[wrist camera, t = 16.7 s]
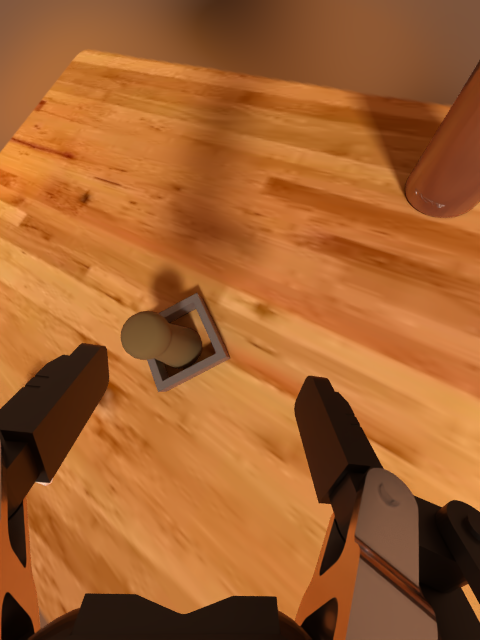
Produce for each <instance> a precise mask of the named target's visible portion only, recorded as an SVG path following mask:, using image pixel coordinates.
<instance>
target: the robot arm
mask: <svg viewBox="0 0 480 640" xmlns="http://www.w3.org/2000/svg"><path fill="white" fill-rule="evenodd" d="M405 192H406V196H407V199H408V201H409V202H410V203H411V205H412V206H413V207H414V208H416V209H417V210H418V211H420V212H422V213H424V214H427V215H430V216H433V217H440V218H447V217H455V216H459V215H461V214H464V213H466V212H468V211H469V210H471V209H472V208H473V207H474V206H475V205H476V204H478V203H479V202H480V60H479V62H478V64H477V65H476V67H475V69H474V70H473V72H472V73H471V75H470V77H469V78H468V80H467V82H466V83H465V85H464V87H463V88H462V90H461V92H460V94H459V95H458V97H457V98H456V100H455V102H454V103H453V105H452V107H451V108H450V110H449V112H448V113H447V115H446V117H445V118H444V120H443V122H442V123H441V125H440V127H439V128H438V130H437V132H436V133H435V135H434V137H433V138H432V140H431V141H430V143H429V145H428V146H427V148H426V150H425V151H424V153H423V155H422V156H421V158H420V160H419V161H418V163H417V165H416V166H415V168H414V169H413V171H412V173H411V174H410V176H409V178H408V180H407V182H406V186H405ZM108 382H109V368H108V356H107V349H106V347H105V346H100V345H93V344H86V343H82V344H80V345H79V346H78V347H77V348H76V349H75V350H74V351H73V353H72V354H71V355H70V356H68V355H62V356H60V357H58V358H56V359H54V360H53V361H51V362H49V363H47V364H46V365H45V366H44V367H43V368H42V369H41V370H40V371H39V372H38V373H37V374H36V375H35V377H33V378H32V379H31V380H30V381H29V382H28V383H27V384H26V385H25V387H22V388H21V389H20V390H19V391H18V392H17V393H16V394H15V395H14V396H13V397H12V398H11V399H10V400H9V401H8V402H7V403H6V404H5V405H4V406H3V407H2V408H1V409H0V640H480V622H479V620H478V619H477V617H476V615H475V613H474V611H473V609H472V607H471V605H470V604H469V602H468V600H467V598H466V596H465V594H464V592H463V590H462V589H461V587H463V586H465V585H467V584H469V586H470V587H471V589H472V591H473V593H474V595H475V596H476V598H477V600H478V602H479V604H480V512H479V511H477V510H476V509H475V508H473V507H472V506H470V505H468V504H466V503H464V502H461V501H457V500H453V501H450V502H449V503H447V504H446V505H445V506H443V507H440V506H437V505H435V504H432V503H430V502H428V501H425V500H423V499H421V498H418V497H416V496H414V495H413V494H412V493H411V491H410V490H409V488H408V487H407V486H406V485H405V484H404V483H403V481H402V480H400V479H399V478H398V477H397V476H396V475H394V474H393V473H391V472H389V471H387V470H385V469H383V467H382V465H381V463H380V462H379V460H378V458H377V456H376V454H375V452H374V450H373V448H372V446H371V445H370V443H369V441H368V439H367V437H366V435H365V433H364V431H363V429H362V428H361V427H360V424H359V422H358V420H357V418H356V417H355V416H354V415H355V414H354V413H353V411H352V409H351V407H350V405H349V403H348V402H347V401H346V400H345V399H344V398H343V397H342V396H341V394H340V393H339V392H335V391H334V389H333V387H332V385H331V383H330V381H329V380H328V379H327V378H323V377H316V376H308V377H307V378H306V379H305V382H304V384H303V386H302V388H301V390H300V392H299V395H298V397H297V399H296V402H295V408H294V411H295V417H296V421H297V425H298V428H299V432H300V436H301V439H302V443H303V447H304V450H305V454H306V458H307V461H308V465H309V469H310V472H311V476H312V480H313V483H314V487H315V491H316V495H317V498H318V502H319V503H325V504H331V505H332V508H333V512H334V513H333V514H332V516H331V518H330V521H329V525H328V528H327V531H326V535H325V538H324V541H323V545H322V548H321V551H320V555H319V558H318V562H317V565H316V568H315V572H314V575H313V577H312V580H311V582H310V584H309V586H308V588H307V590H306V592H305V594H304V596H303V598H302V601H301V603H300V606H299V609H298V612H297V615H296V618H295V621H294V620H292V619H291V618H290V617H288V616H287V615H285V614H284V613H282V612H280V611H278V607H277V598H276V597H270V596H231V597H229V598H226V599H224V600H221V601H219V602H216V603H214V604H211V605H209V606H206V607H203V608H201V609H198V610H196V611H193V612H191V613H188V614H180V613H177V612H175V611H172V610H170V609H168V608H166V607H163V606H161V605H159V604H157V603H154V602H152V601H150V600H148V599H145V598H143V597H141V596H139V595H136V594H85V596H84V599H83V602H82V604H81V607H80V608H78V609H75V610H72V611H70V612H68V613H66V614H64V615H62V616H60V617H58V618H56V619H55V620H53V621H52V622H50V623H49V624H47V625H46V626H44V627H43V628H41V629H40V618H39V606H38V598H37V592H36V587H35V583H34V579H33V575H32V568H31V555H30V541H29V526H28V512H27V499H26V495H27V493H28V492H29V490H30V489H31V487H32V486H33V484H34V483H35V482H43V483H50V482H51V480H52V479H53V477H54V475H55V474H56V472H57V470H58V469H59V467H60V466H61V464H62V462H63V461H64V459H65V457H66V456H67V454H68V452H69V451H70V449H71V447H72V446H73V444H74V442H75V441H76V439H77V438H78V436H79V434H80V433H81V431H82V429H83V428H84V426H85V424H86V423H87V421H88V419H89V418H90V416H91V414H92V413H93V411H94V410H95V408H96V406H97V405H98V403H99V401H100V400H101V398H102V396H103V395H104V393H105V391H106V389H107V386H108Z"/></svg>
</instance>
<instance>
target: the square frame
mask: <svg viewBox="0 0 480 640" xmlns="http://www.w3.org/2000/svg"><path fill="white" fill-rule="evenodd" d="M194 309H197V311H198V313H199V316H200V318H201V320H202V322H203V325H204V327H205V329H206V331H207V334H208V336H209V338H210V340H211V342H212V345H213V347H214V349H215V351H216V354H214V355H212V356H210V357H208V358H206V359H204V360H202V361H200V362H198V363H197V364H195V365H193V366H191V367H189V368H187V369H185V370H183V371H181V372H179V373H177V374H175V375H173V376H172V377H170V378H169V376H168V373H167V370H166V368H165V365H164V363H163V362H161V361H159V360H157V359H155V358H154V359H149V360H147V361H148V364H149V366H150V369H151V372H152V375H153V378H154V381H155V384H156V387H157V390H158V392H163V391H168V390H170V389H172V388H174V387H176V386H178V385H180V384H182V383H184V382H186V381H187V380H189V379H191V378H193V377H195V376H197V375H199V374H201V373H203V372H205V371H207V370H209V369H211V368H213V367H215V366H216V365H218V364H220V363H222V362H224V361H226V360H228V359H230V357H229V355H228V352H227V350H226V348H225V346H224V344H223V342H222V339H221V337H220V335H219V333H218V331H217V329H216V327H215V324H214V322H213V320H212V318H211V316H210V314H209V311H208V309H207V307H206V305H205V303H204V301H203V299H202V297H201V296H200V295H199V294H198V293H196V294H194V295H192V296H190V297H188V298H186V299H184V300H183V301H181V302H179V303H177V304H175V305H173V306H171V307H170V308H168V309H166V310H164V311H162V312H160V313H158V314H160V315H161V316H163V317H164V318H165V319H166V320H167V321H168V323H170V322H172V321H174V320H176V319H177V318H179V317H181V316H183V315H185V314H187V313H189V312H191V311H192V310H194Z"/></svg>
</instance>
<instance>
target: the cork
mask: <svg viewBox="0 0 480 640" xmlns="http://www.w3.org/2000/svg"><path fill="white" fill-rule="evenodd" d="M121 342H122V346H123V348H124V349H125V351H126V352H127V353H128V354H130V355H131V356H132V357H134V358H137V359H141V360H149V359H154V358H155V359H157V360H159V361H161V362H163V363H165V364H167V365H169V366H172V367H174V368H178V369H183V368H187V367H190V366H192V365H193V364H194V363H195V362H196V361H197V360H198V358H199V357H200V354H201V351H202V341H201V338H200V336H199V335H198V333H197V332H196V331H194V330H193V329H191V328H187V327H183V326H179V325H175V324H170V323H168V321H167V320H166V319H165V318H164V317H163V316H161V315H160V314H158V313H156V312H151V311H143V312H139V313H137V314H135V315H133V316H131V317H130V318H129V319H128V320H127V321H126V322H125V324H124V325H123V328H122V331H121Z"/></svg>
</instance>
